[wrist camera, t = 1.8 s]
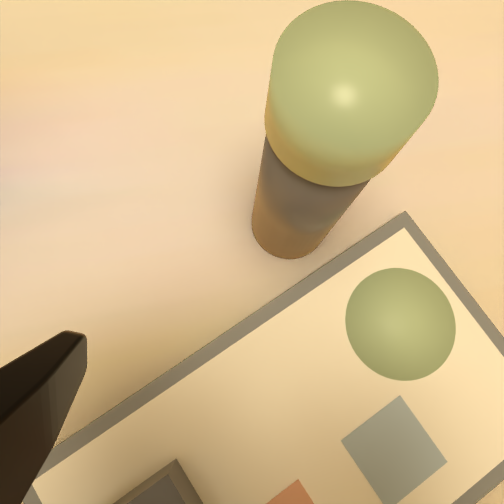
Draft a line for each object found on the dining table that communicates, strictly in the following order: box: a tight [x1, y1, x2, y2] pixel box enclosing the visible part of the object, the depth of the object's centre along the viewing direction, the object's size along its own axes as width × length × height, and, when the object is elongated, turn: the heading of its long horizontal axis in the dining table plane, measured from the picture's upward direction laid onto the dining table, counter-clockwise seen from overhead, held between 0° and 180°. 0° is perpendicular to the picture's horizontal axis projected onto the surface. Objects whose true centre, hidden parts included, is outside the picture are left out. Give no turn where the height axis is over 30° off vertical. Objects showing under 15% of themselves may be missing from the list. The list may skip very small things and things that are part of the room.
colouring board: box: [23, 211, 504, 504], centre depth 21 cm, size 13×23×1 cm, turn 124°
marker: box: [252, 0, 438, 259], centre depth 18 cm, size 4×4×13 cm
